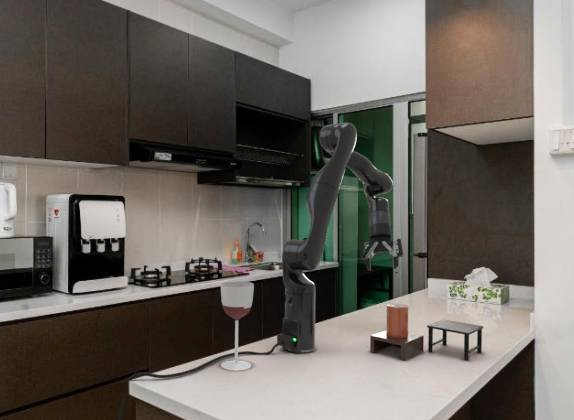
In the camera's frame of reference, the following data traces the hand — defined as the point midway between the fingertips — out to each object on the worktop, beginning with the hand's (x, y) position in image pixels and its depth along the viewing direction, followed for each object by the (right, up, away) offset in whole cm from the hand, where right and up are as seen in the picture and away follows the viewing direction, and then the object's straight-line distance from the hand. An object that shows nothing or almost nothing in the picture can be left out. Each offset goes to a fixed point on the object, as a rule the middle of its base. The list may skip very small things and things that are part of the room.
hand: (382, 269), depth 164 cm
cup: (-2, -17, -21) cm, 27 cm away
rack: (+16, -22, -21) cm, 34 cm away
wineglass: (-50, -22, -35) cm, 65 cm away
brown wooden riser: (-2, -22, -21) cm, 31 cm away
